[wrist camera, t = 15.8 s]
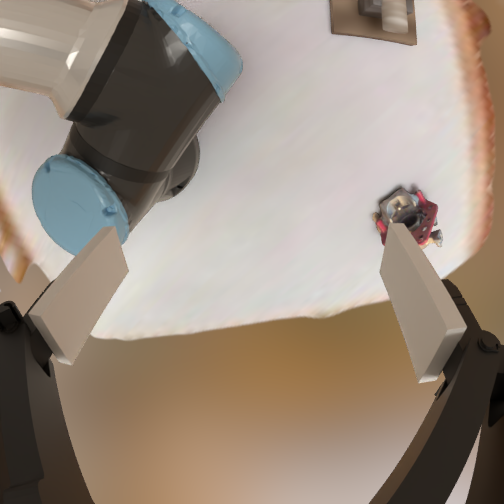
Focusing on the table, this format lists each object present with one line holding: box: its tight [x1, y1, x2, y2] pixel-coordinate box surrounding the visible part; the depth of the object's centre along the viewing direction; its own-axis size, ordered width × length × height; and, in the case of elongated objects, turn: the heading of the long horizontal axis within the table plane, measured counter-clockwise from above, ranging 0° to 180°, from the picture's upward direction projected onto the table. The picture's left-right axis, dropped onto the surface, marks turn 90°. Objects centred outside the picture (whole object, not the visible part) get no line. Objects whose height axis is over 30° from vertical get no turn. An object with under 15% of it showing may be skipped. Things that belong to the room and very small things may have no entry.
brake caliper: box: [373, 188, 443, 249], centre depth 42 cm, size 11×10×11 cm
